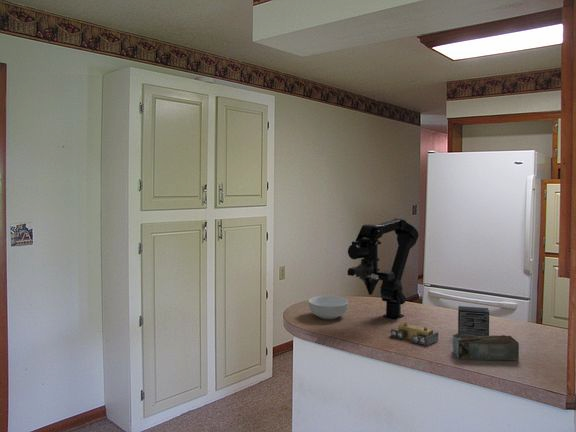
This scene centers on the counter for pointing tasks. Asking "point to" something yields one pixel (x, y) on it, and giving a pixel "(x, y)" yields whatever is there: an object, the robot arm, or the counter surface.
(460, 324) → the small box
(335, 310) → the cereal bowl
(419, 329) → the brass block with pegs
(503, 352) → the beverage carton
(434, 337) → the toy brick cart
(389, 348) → the counter surface
